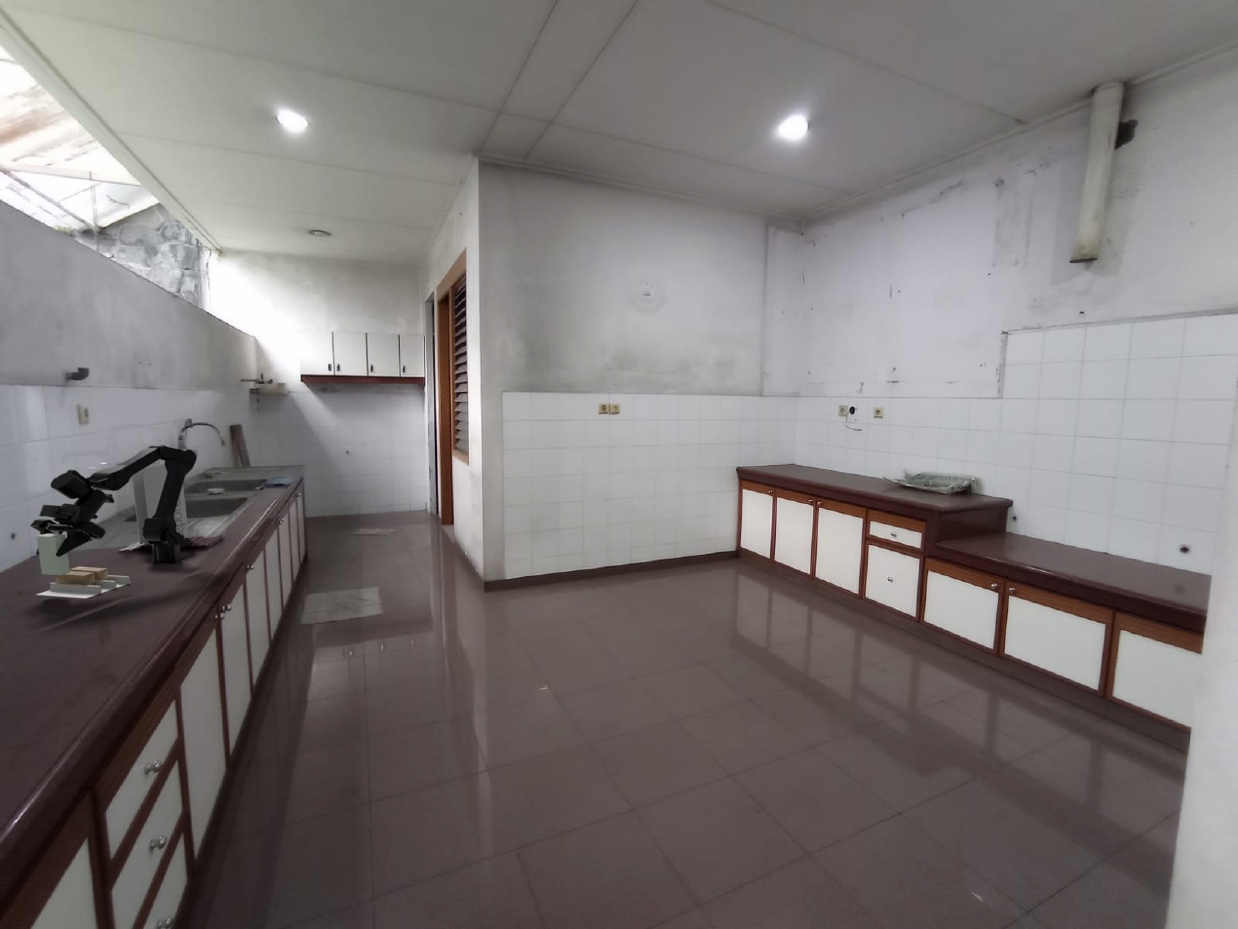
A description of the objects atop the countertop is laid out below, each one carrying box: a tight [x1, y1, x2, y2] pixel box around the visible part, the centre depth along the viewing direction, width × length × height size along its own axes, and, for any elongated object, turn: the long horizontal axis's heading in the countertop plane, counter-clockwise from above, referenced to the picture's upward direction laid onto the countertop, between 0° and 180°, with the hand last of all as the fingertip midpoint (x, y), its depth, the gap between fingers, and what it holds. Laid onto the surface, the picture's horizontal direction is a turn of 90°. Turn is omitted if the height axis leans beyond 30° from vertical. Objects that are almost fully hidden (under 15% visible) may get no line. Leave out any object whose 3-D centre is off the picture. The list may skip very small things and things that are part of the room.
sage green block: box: [36, 533, 71, 576], centre depth 156 cm, size 2×6×11 cm, turn 82°
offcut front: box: [69, 566, 109, 581], centre depth 165 cm, size 2×10×4 cm, turn 82°
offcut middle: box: [54, 571, 95, 586], centre depth 162 cm, size 2×10×4 cm, turn 82°
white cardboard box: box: [131, 462, 190, 545], centre depth 209 cm, size 14×6×30 cm, turn 168°
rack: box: [35, 574, 132, 599], centre depth 162 cm, size 13×16×3 cm
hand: (47, 555), depth 154 cm, fingers closed on sage green block, 6 cm apart
